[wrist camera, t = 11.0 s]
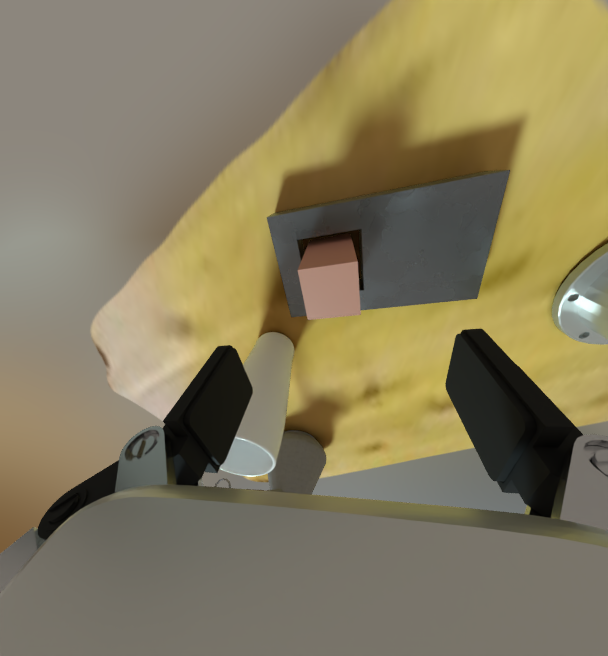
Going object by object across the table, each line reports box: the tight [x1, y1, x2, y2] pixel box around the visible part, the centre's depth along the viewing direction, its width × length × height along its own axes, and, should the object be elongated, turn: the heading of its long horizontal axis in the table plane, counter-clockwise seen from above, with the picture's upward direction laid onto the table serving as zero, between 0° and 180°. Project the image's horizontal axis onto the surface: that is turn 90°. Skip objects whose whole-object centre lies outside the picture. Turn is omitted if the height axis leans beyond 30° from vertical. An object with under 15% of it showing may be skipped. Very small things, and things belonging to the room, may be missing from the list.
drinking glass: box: [219, 332, 294, 476], centre depth 25 cm, size 7×7×15 cm
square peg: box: [298, 233, 361, 320], centre depth 20 cm, size 4×4×9 cm
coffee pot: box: [215, 430, 326, 495], centre depth 35 cm, size 21×12×15 cm, turn 25°
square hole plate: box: [267, 170, 510, 317], centre depth 21 cm, size 18×10×3 cm, turn 101°
